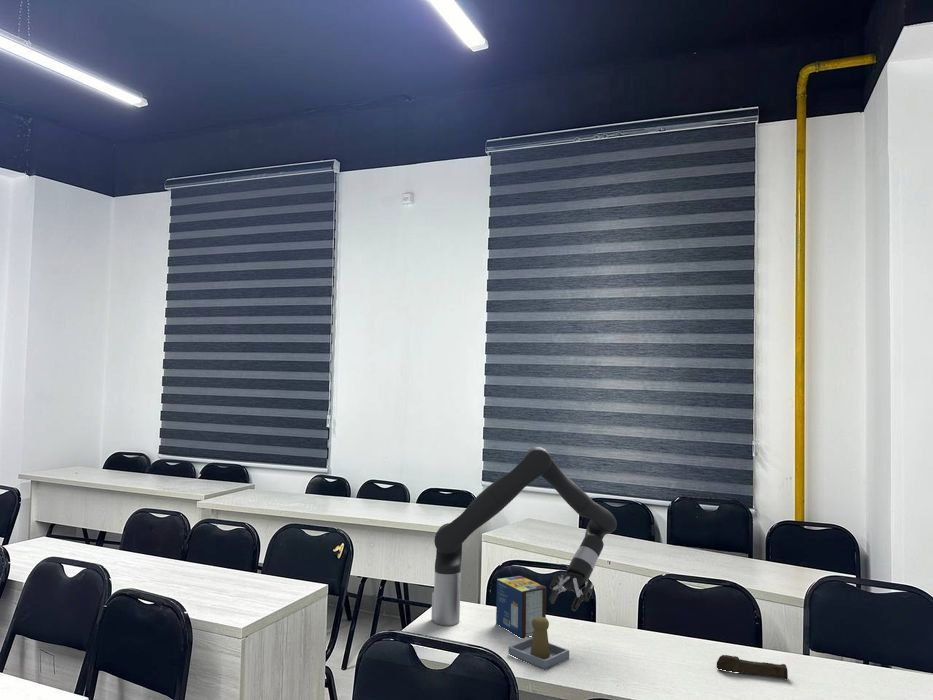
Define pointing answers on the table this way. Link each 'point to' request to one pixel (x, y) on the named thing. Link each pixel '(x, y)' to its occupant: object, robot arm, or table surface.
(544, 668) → the tray
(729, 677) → the table surface
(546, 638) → the cork
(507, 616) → the protein box
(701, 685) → the table surface
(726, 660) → the hand tool
